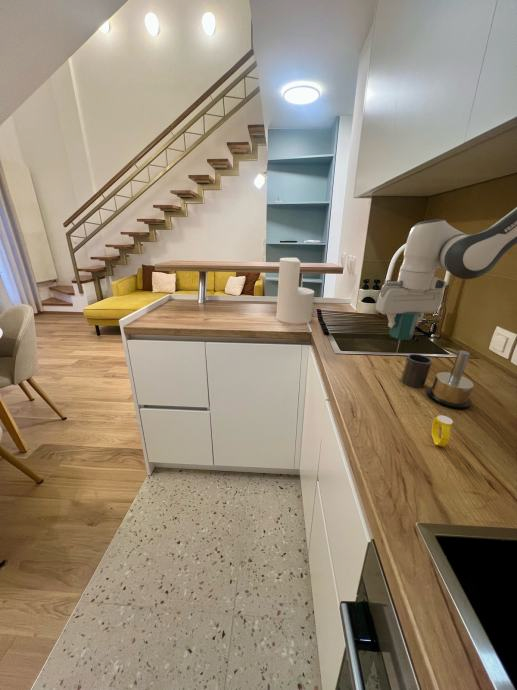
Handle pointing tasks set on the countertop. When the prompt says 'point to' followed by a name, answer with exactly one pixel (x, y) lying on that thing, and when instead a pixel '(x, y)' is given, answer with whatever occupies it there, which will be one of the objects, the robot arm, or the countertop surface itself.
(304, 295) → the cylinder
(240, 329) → the countertop surface
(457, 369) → the towel holder
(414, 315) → the teal cup
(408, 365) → the charcoal cup
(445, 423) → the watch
